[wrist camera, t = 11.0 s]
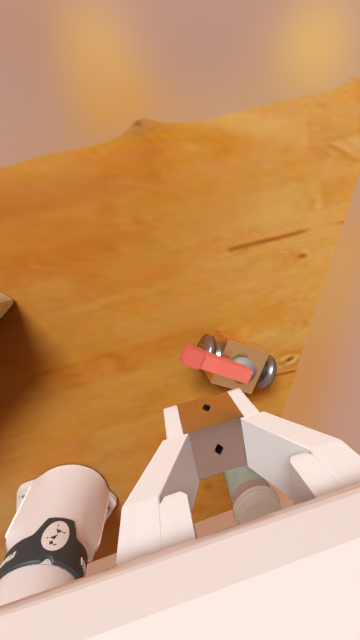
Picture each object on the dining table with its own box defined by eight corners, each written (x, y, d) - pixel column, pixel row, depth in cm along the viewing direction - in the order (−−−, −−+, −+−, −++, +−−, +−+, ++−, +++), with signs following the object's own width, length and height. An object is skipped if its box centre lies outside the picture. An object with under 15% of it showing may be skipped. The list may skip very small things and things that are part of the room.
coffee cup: (212, 475, 48) (233, 539, 36) (218, 442, 46) (242, 498, 35) (248, 474, 49) (279, 535, 38) (255, 441, 48) (289, 495, 36)
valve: (248, 381, 44) (264, 399, 38) (190, 364, 42) (197, 380, 35) (263, 346, 43) (283, 358, 37) (205, 326, 41) (215, 335, 34)
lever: (257, 361, 37) (269, 370, 33) (246, 383, 37) (257, 395, 34) (187, 335, 34) (192, 342, 30) (176, 360, 34) (180, 370, 31)
